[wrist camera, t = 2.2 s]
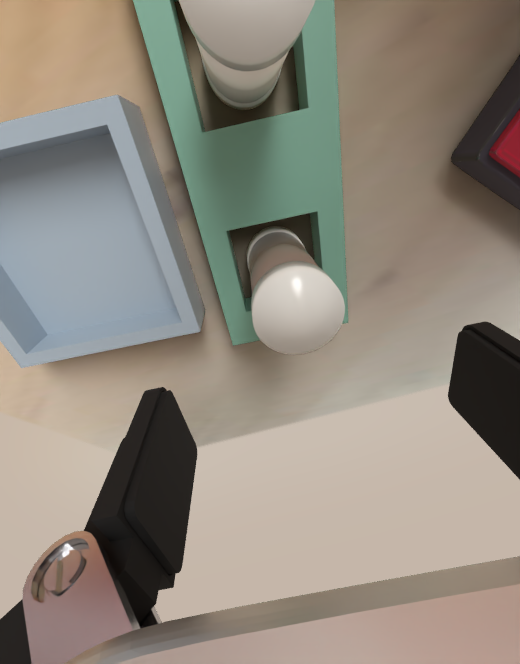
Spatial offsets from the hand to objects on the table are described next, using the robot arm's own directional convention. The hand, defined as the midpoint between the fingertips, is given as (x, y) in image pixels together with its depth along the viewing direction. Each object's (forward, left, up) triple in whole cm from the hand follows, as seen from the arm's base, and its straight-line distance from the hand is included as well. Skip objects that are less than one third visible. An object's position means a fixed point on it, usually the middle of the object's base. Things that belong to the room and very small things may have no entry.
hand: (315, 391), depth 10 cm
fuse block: (-6, 0, -14) cm, 16 cm away
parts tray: (-4, -13, -14) cm, 20 cm away
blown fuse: (0, 0, -14) cm, 14 cm away
